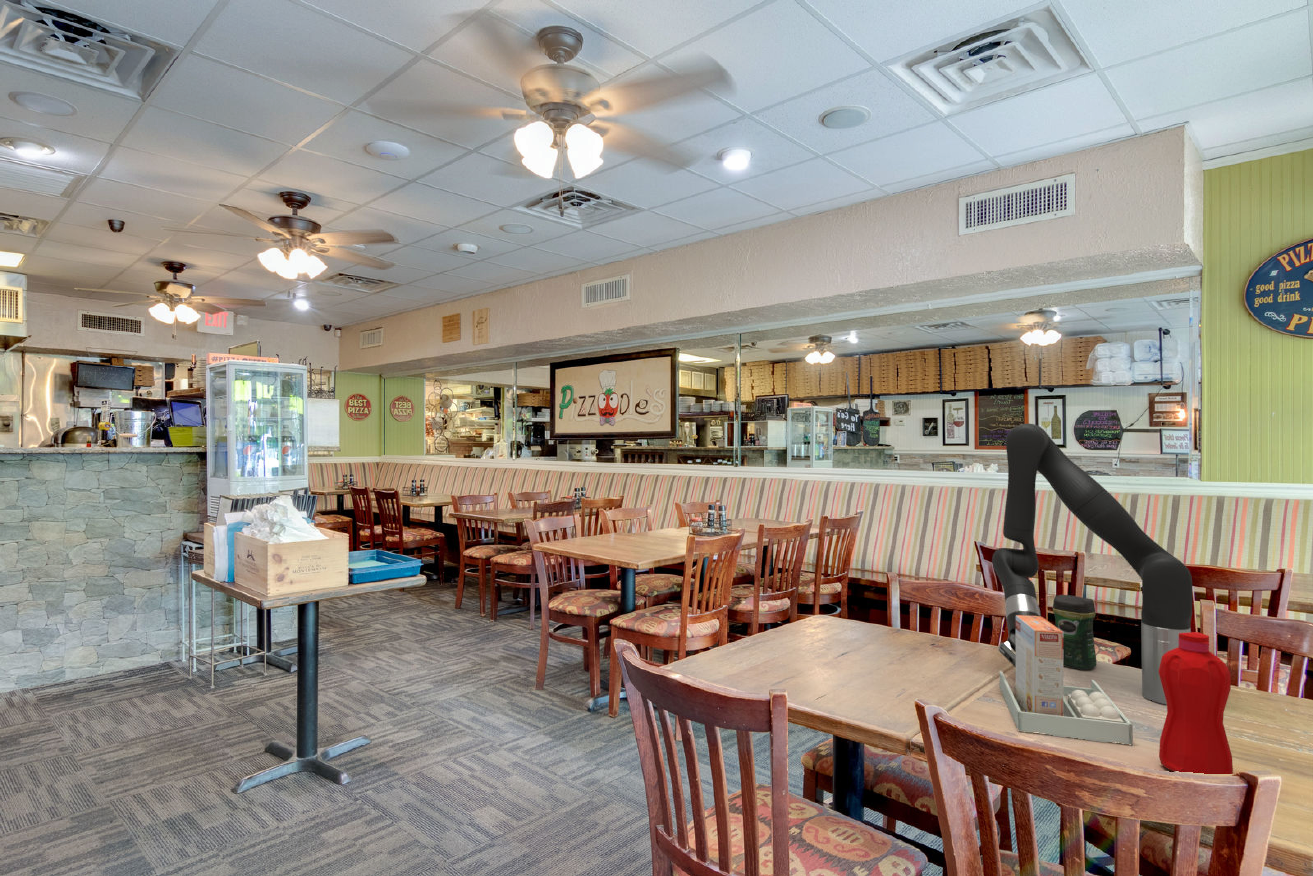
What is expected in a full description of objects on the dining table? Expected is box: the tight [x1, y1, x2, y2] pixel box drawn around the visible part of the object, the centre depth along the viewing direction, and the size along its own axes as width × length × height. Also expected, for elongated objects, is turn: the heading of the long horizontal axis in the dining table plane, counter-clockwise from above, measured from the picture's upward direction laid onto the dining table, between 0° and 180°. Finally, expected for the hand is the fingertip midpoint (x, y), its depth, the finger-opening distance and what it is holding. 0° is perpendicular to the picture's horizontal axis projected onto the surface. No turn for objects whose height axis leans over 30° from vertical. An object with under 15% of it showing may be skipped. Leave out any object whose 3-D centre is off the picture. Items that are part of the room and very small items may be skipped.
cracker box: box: [1015, 615, 1064, 716], centre depth 148 cm, size 14×6×21 cm, turn 167°
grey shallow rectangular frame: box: [998, 670, 1134, 746], centre depth 152 cm, size 20×28×4 cm
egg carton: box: [1067, 690, 1124, 723], centre depth 144 cm, size 7×14×6 cm, turn 160°
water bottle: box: [1158, 631, 1234, 774], centre depth 125 cm, size 9×11×25 cm
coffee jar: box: [1052, 594, 1097, 671], centre depth 186 cm, size 10×8×19 cm
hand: (1033, 685), depth 156 cm, fingers closed
